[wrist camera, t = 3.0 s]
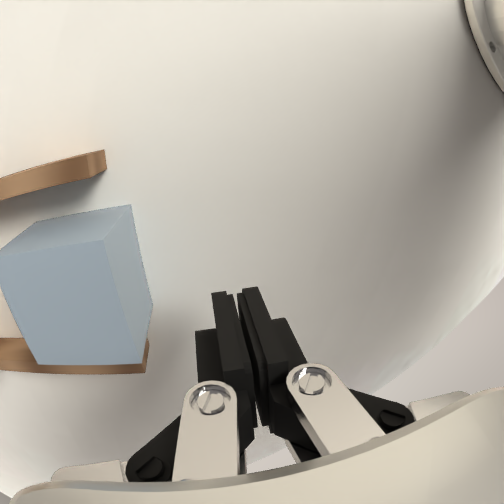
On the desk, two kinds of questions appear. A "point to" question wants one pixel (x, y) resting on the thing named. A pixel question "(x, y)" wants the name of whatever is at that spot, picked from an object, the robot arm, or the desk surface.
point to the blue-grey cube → (79, 288)
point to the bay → (47, 175)
